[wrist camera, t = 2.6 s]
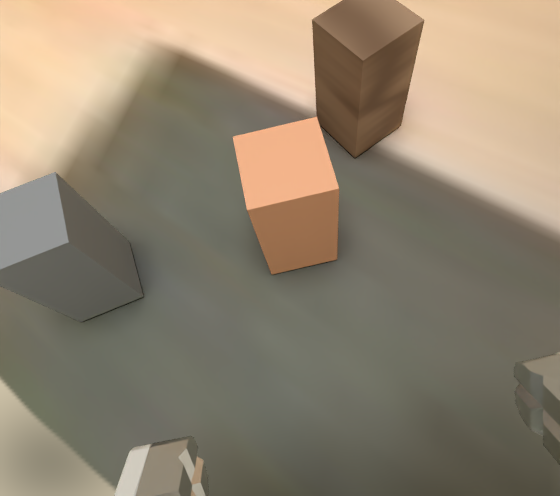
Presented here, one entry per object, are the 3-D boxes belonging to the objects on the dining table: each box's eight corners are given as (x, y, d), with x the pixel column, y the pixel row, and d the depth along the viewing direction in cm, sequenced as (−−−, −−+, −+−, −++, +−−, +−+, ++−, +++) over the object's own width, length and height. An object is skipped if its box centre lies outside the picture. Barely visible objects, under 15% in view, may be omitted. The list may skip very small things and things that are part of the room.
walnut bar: (361, 91, 34) (370, -18, 26) (400, 125, 32) (424, 20, 24) (317, 121, 33) (312, 19, 25) (355, 158, 31) (363, 60, 23)
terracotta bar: (321, 202, 30) (316, 116, 22) (337, 259, 28) (339, 188, 20) (259, 217, 30) (232, 136, 22) (271, 274, 28) (247, 210, 20)
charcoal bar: (129, 241, 31) (55, 172, 22) (143, 296, 29) (68, 242, 21) (70, 265, 30) (-27, 203, 22) (81, 322, 29) (-21, 277, 20)
